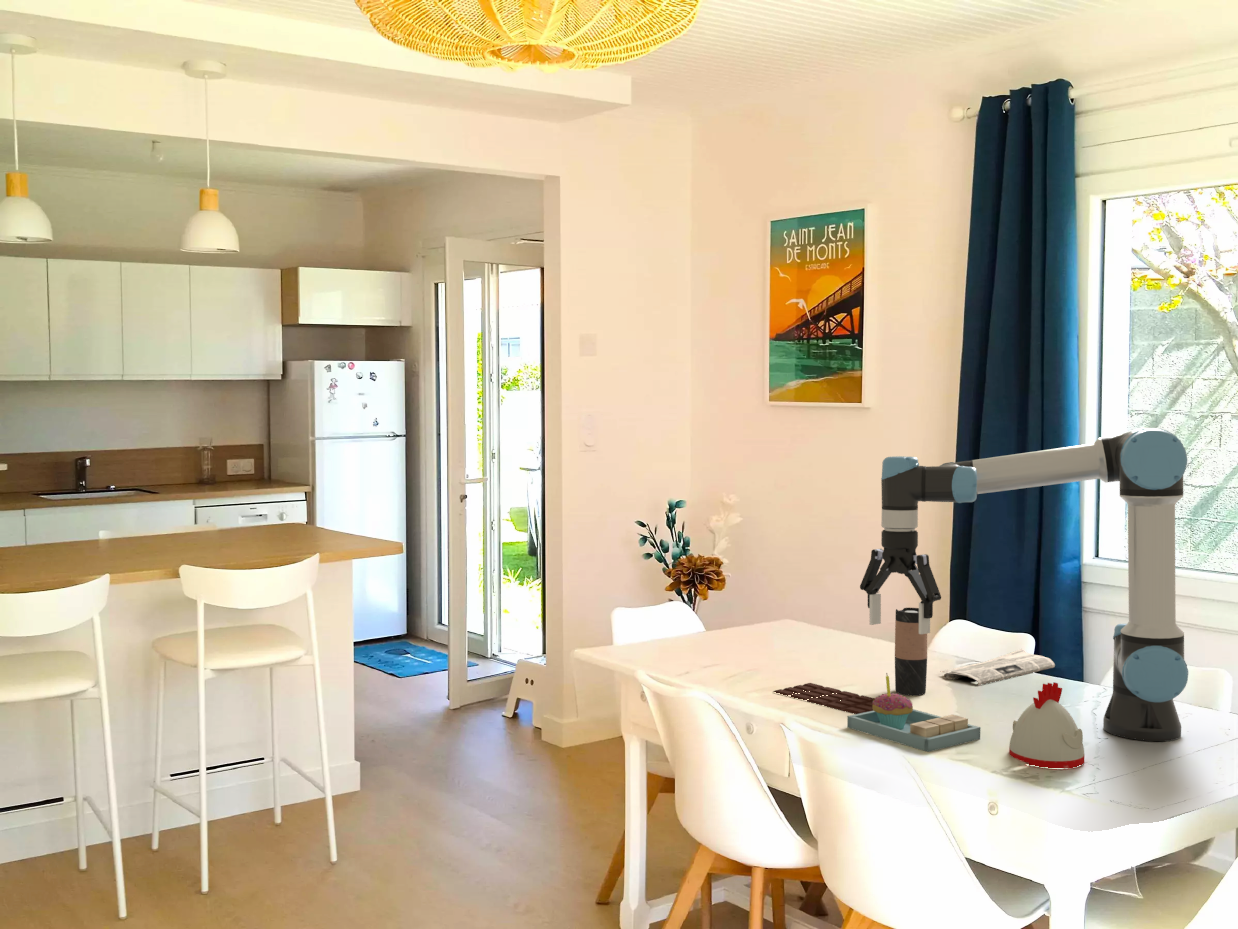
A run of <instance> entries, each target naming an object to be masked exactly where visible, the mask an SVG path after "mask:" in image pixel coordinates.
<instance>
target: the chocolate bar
mask: <svg viewBox="0 0 1238 929" xmlns="http://www.w3.org/2000/svg"><path fill="white" fill-rule="evenodd" d="M803 690H804V691H803ZM805 691H806V692H805ZM809 691H810V692H809ZM772 692H776V693H780V694H783V695H787V696H788V695H791V697H794V698H793V699H795V698H798V699H803V700H807V699H809V700H807V703H810V702H811V704H814V703H816V704H815V705H818V704H819V705H818V706H822V705H824V706H823V707H825V706H827V707H826V708H829V707H830V709H833V708H834V709H835V710H837V709H838V711H842V712H845V711H846V713H848V714H849V713H850V714H853V713H854V714H853V715H855V714H860V713H865V712H869V711H874V710H873V704H872V703H873V701H874V700H875V699H876V697H870V696H867V695H859V694H858V693H854V692H850V691H847V690H843V691H842V690H841V689H837V688H833V687H828V686H823V685H820V684H817V683H812V682H807V683H804V684H798V685H794V686H789V687H785V688H783V689H782V688H781V689H775V690H773V691H772ZM793 692H794V693H793ZM795 693H797V694H795ZM798 693H800V694H798ZM832 693H834V694H832ZM836 693H837V694H836ZM792 694H793V695H792ZM783 695H782V696H783ZM822 695H824V696H822ZM826 695H828V696H826ZM787 696H786V697H787ZM820 696H821V697H820ZM791 697H790V698H791ZM811 697H813V698H811ZM816 697H818V698H816ZM798 699H797V700H798ZM840 700H841V701H840Z"/></svg>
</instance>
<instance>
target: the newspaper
mask: <svg viewBox="0 0 1238 929" xmlns="http://www.w3.org/2000/svg"><path fill="white" fill-rule="evenodd" d="M1055 666H1056V664H1055V662H1054V661H1053V660H1052V659H1051V658H1049V657H1045V656H1043V655H1038V654H1032V653H1029V652H1027V651H1025V650H1024V649H1023V648H1019V649H1017V650H1015V651H1012V652H1009V653H1007V654H1003V655H1000V656H997V657H995V658H991V659H988V660H985V661H982V662H978V663H974V664H968V665H963V666H959V667H954V668H949V669H944V670H940V672H941V673H944V674H943V678H944V679H945V680H952V679H953V680H956V679H955V678H957V679H960V678H964V677H965V678H966V677H968V678H970V679H973V680H974V681H977V682H978V684H977V685H976V686H977V687H980V686H982V685H981V684H984V685H987V684H986V683H988V684H991V683H990V682H992V683H996V682H999V680H1000V681H1003V679H1005V680H1007V679H1008V678H1009V679H1012V678H1011V677H1013V678H1016V676H1017V677H1020V676H1025V675H1028V674H1033V673H1037V672H1040V671H1045V670H1049V669H1054V668H1055ZM1024 674H1025V675H1024ZM947 678H948V679H947ZM995 681H996V682H995Z"/></svg>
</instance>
